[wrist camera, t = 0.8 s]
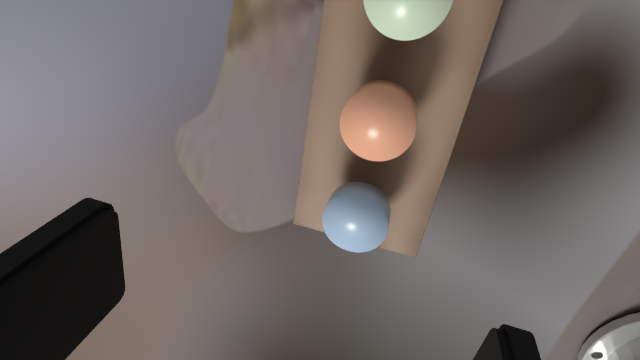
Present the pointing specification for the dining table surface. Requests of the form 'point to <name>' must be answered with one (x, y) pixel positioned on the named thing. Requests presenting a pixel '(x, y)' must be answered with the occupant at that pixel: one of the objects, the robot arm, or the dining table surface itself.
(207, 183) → the dining table surface
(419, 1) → the sage green button
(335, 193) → the slate blue button
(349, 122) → the terracotta button
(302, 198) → the button panel
